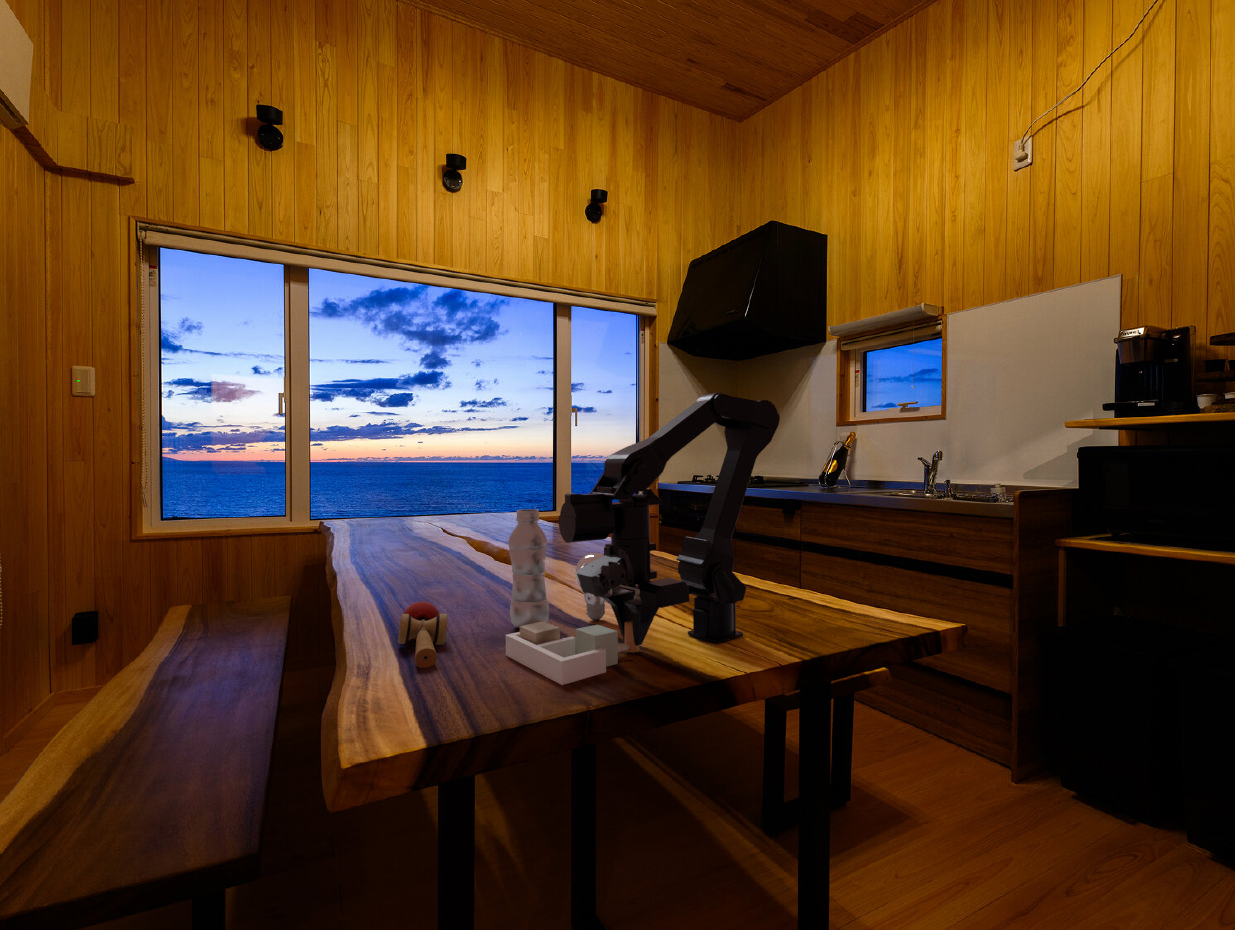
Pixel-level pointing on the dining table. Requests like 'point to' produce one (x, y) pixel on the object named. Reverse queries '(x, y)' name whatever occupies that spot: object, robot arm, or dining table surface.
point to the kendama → (423, 631)
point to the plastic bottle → (528, 570)
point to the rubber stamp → (604, 641)
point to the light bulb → (593, 603)
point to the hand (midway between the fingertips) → (632, 642)
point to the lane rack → (556, 658)
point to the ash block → (539, 632)
